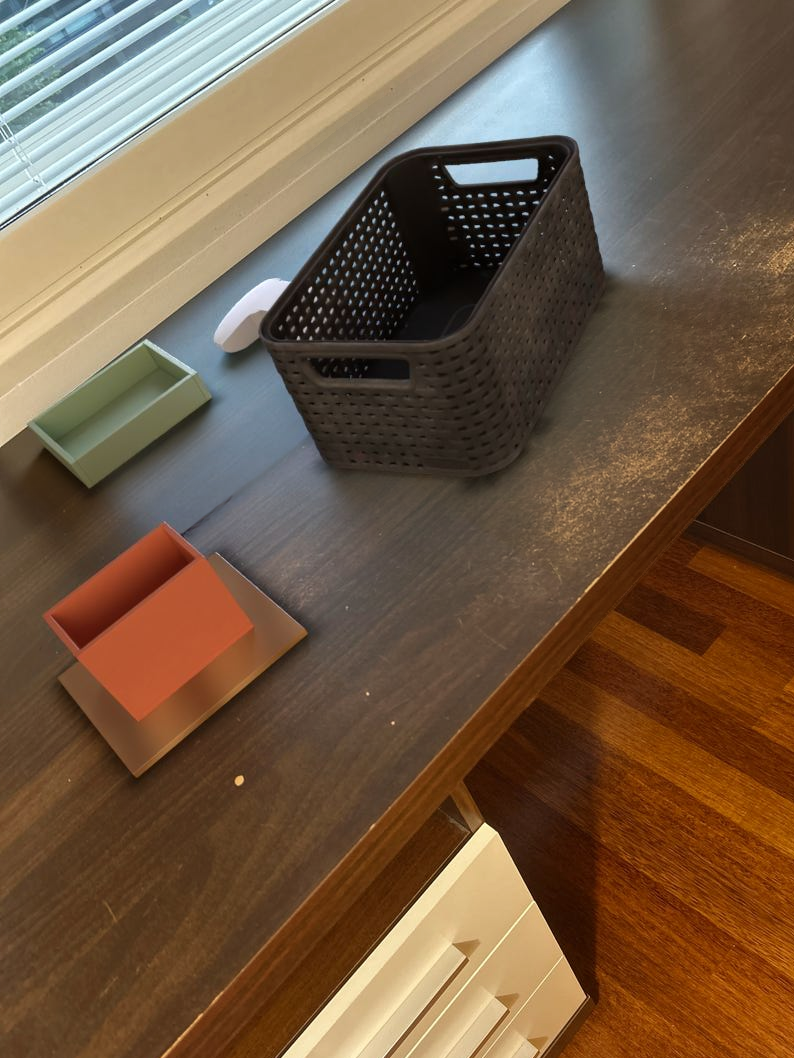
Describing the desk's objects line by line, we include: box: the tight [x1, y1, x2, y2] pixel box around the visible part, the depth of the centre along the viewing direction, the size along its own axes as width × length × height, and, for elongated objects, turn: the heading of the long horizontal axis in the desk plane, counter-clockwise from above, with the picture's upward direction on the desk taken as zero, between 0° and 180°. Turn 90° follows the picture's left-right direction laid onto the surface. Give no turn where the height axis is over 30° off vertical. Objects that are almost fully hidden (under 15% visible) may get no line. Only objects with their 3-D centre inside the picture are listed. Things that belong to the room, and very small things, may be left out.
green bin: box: [26, 338, 213, 489], centre depth 100 cm, size 15×11×4 cm
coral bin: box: [41, 521, 254, 722], centre depth 76 cm, size 11×6×8 cm, turn 132°
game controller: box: [213, 277, 351, 361], centre depth 102 cm, size 14×4×10 cm
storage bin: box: [258, 134, 608, 478], centre depth 87 cm, size 29×19×13 cm
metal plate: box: [57, 551, 309, 779], centre depth 79 cm, size 16×14×1 cm
